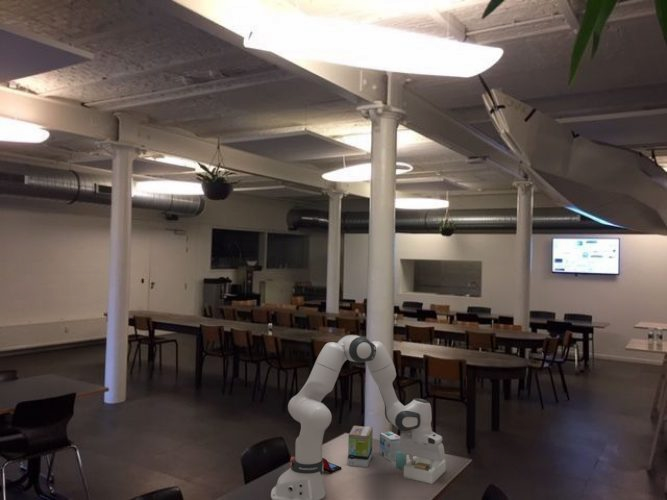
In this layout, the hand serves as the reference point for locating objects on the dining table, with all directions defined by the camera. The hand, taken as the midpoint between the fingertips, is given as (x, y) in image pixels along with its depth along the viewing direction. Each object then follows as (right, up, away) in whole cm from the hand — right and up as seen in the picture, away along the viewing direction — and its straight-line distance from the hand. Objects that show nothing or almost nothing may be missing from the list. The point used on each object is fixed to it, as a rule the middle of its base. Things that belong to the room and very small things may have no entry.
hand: (421, 467), depth 232 cm
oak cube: (0, -4, 0) cm, 4 cm away
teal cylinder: (-8, -5, +12) cm, 15 cm away
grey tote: (+2, -5, +3) cm, 6 cm away
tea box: (-26, -5, +19) cm, 33 cm away
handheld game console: (-43, -5, +9) cm, 45 cm away
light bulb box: (-11, -6, +25) cm, 28 cm away
